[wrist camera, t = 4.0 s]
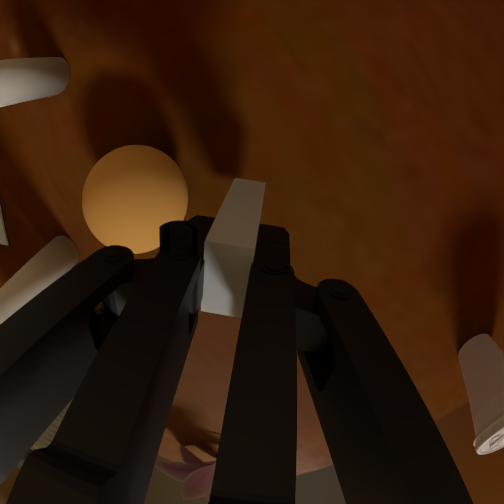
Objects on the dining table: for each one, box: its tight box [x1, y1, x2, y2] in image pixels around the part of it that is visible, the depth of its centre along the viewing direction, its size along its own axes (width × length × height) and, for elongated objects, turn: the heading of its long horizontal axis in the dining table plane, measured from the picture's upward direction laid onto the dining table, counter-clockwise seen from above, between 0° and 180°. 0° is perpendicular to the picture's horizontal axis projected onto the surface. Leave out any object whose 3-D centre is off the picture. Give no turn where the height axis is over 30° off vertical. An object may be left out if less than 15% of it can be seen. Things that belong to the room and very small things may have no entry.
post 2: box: [0, 235, 79, 324], centre depth 16 cm, size 3×3×9 cm
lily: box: [154, 445, 216, 501], centre depth 30 cm, size 12×12×10 cm
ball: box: [82, 145, 188, 254], centre depth 15 cm, size 6×6×6 cm
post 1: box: [0, 57, 70, 107], centre depth 10 cm, size 3×3×9 cm
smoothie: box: [458, 334, 504, 455], centre depth 16 cm, size 6×6×14 cm
